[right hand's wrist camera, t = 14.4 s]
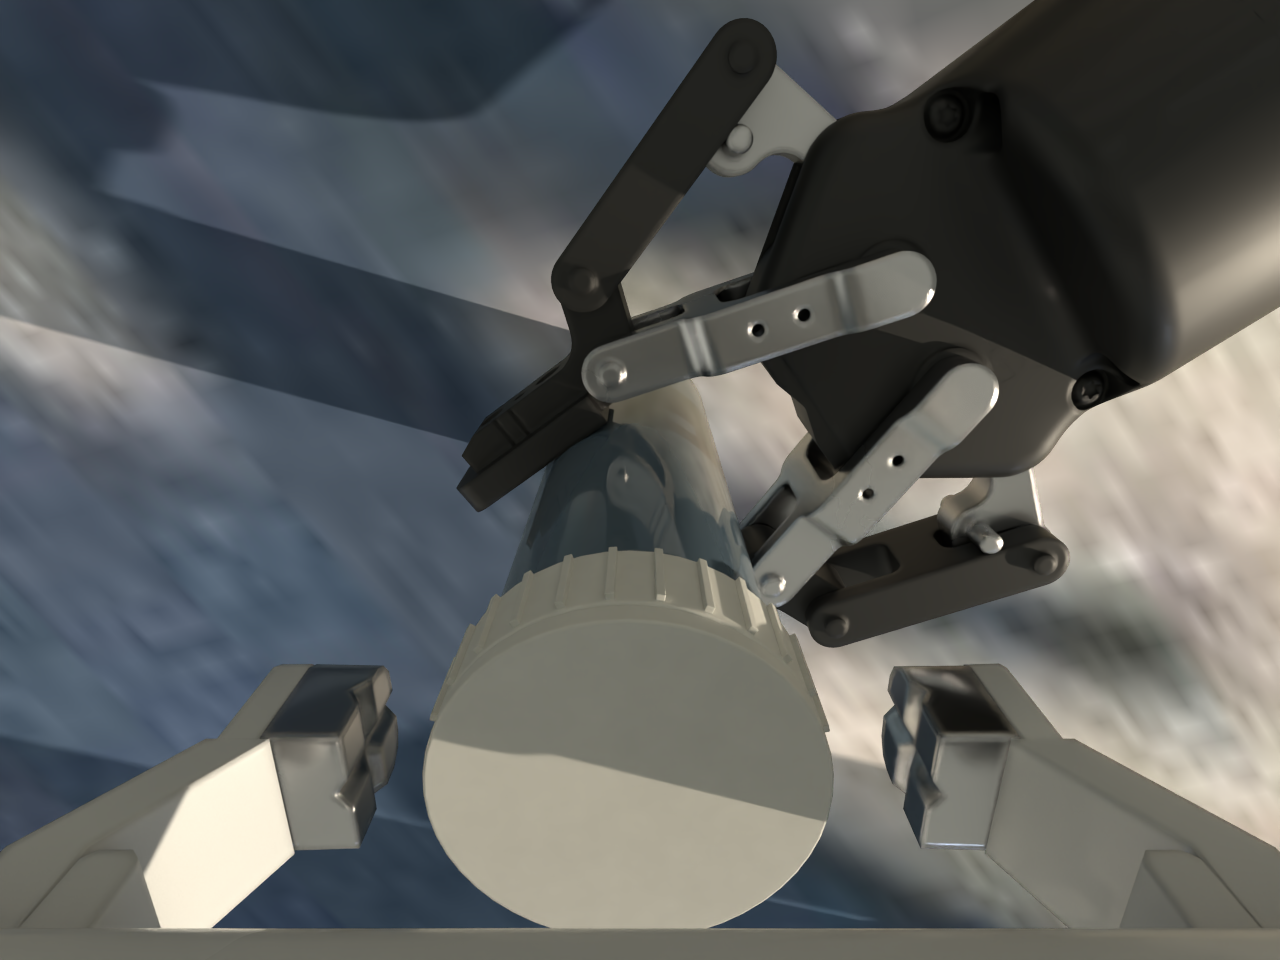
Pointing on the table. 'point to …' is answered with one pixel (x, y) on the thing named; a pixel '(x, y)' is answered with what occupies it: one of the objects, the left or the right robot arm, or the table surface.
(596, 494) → the dark grey cylinder
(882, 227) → the left robot arm
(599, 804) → the lid
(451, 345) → the table surface
